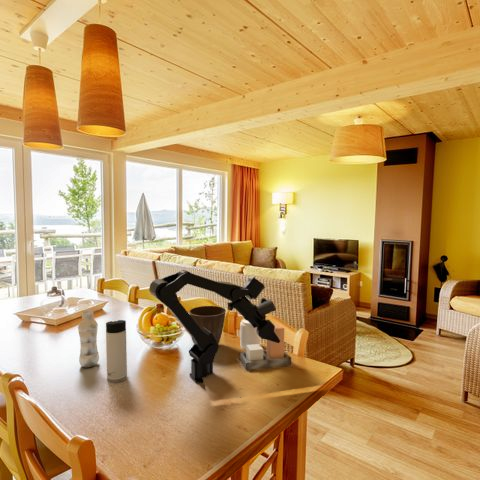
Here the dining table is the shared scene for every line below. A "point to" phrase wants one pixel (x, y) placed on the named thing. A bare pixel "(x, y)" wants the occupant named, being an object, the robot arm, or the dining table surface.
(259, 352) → the cream white block
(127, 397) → the dining table surface
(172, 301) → the robot arm
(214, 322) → the plant pot
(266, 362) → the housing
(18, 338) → the dining table surface
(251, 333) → the beverage can
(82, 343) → the plastic bottle
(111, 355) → the travel mug
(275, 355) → the jaw tall
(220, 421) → the dining table surface
